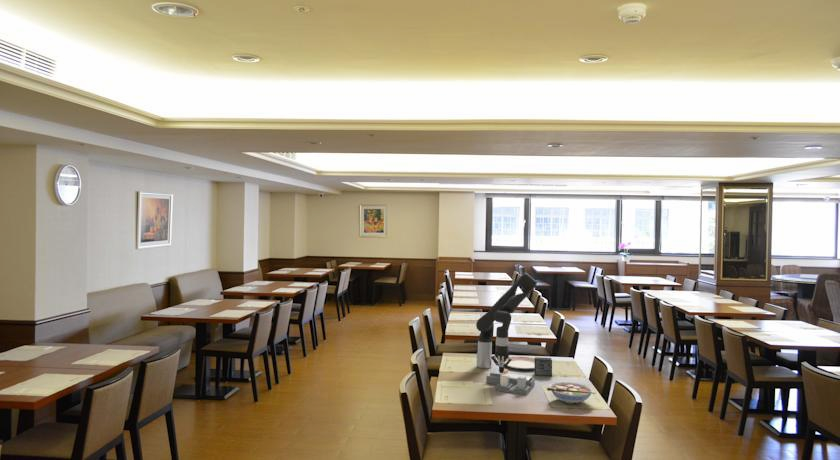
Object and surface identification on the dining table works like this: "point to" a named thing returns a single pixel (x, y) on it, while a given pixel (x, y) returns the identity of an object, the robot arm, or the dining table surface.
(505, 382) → the white jaw block
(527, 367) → the dinner plate
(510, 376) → the lid
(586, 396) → the ramen bowl
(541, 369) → the small box
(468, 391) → the dining table surface
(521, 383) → the housing
